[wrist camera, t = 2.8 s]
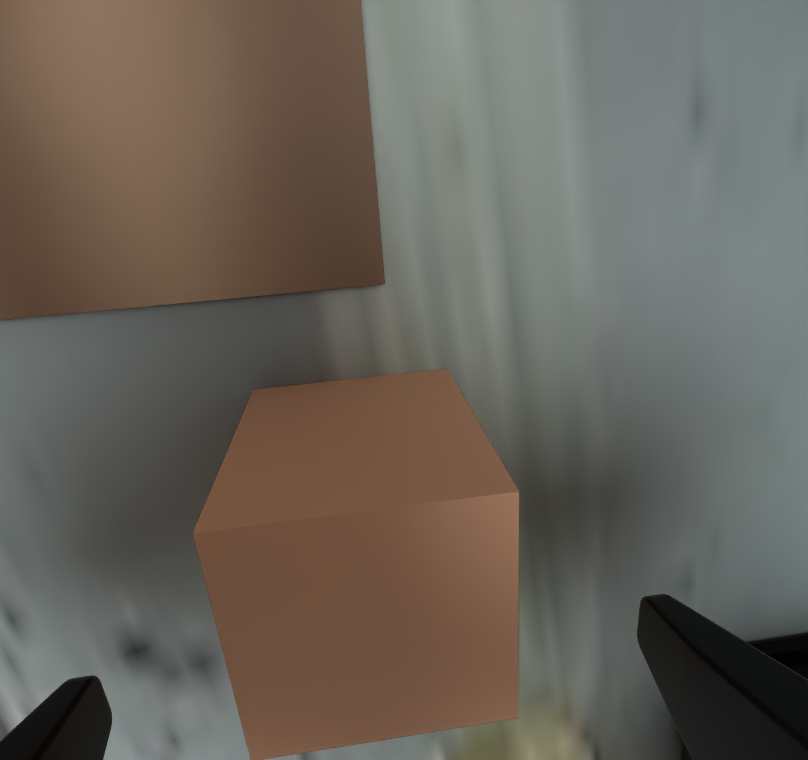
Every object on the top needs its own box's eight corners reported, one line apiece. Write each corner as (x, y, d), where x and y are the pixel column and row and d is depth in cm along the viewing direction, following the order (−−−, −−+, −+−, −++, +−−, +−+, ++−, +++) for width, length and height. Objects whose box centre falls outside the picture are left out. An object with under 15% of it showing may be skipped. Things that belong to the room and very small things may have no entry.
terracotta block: (447, 367, 14) (519, 491, 8) (454, 527, 16) (518, 718, 10) (253, 388, 14) (192, 533, 8) (283, 549, 15) (250, 760, 10)
